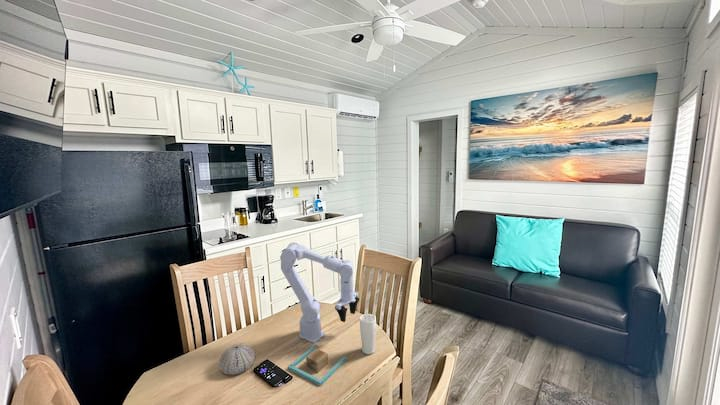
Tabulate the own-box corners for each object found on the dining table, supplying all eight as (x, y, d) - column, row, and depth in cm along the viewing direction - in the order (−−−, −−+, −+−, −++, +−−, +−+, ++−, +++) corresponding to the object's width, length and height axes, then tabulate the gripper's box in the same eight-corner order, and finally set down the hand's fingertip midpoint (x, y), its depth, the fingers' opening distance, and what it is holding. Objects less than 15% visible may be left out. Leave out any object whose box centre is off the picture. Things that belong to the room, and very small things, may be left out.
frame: (288, 369, 113) (288, 366, 113) (315, 346, 127) (315, 344, 126) (320, 386, 105) (320, 383, 104) (346, 360, 118) (346, 357, 118)
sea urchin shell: (262, 358, 120) (261, 340, 119) (239, 381, 108) (237, 362, 106) (236, 351, 125) (235, 334, 123) (211, 374, 112) (209, 354, 111)
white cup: (375, 357, 119) (374, 323, 117) (359, 355, 120) (358, 321, 118) (377, 346, 126) (377, 314, 123) (362, 344, 127) (361, 312, 125)
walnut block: (306, 367, 115) (306, 356, 114) (317, 358, 119) (316, 348, 119) (317, 373, 111) (317, 362, 110) (328, 364, 116) (327, 353, 115)
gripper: (344, 297, 122) (345, 327, 124) (363, 284, 134) (363, 312, 136) (331, 293, 125) (332, 323, 127) (350, 281, 137) (351, 308, 140)
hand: (347, 317), depth 132 cm, fingers open, 7 cm apart
